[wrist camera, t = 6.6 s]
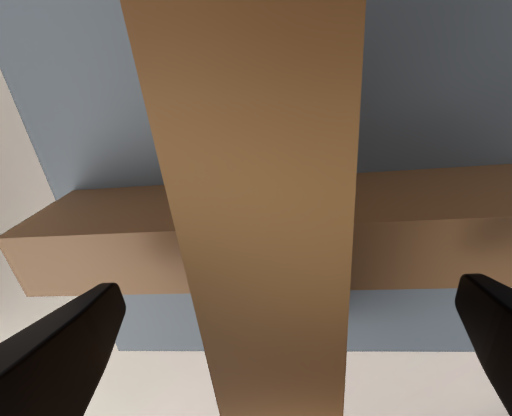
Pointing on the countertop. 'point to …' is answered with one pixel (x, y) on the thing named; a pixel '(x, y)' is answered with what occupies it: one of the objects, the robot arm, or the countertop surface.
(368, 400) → the countertop surface
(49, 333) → the robot arm
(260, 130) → the crossbar
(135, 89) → the joint board
